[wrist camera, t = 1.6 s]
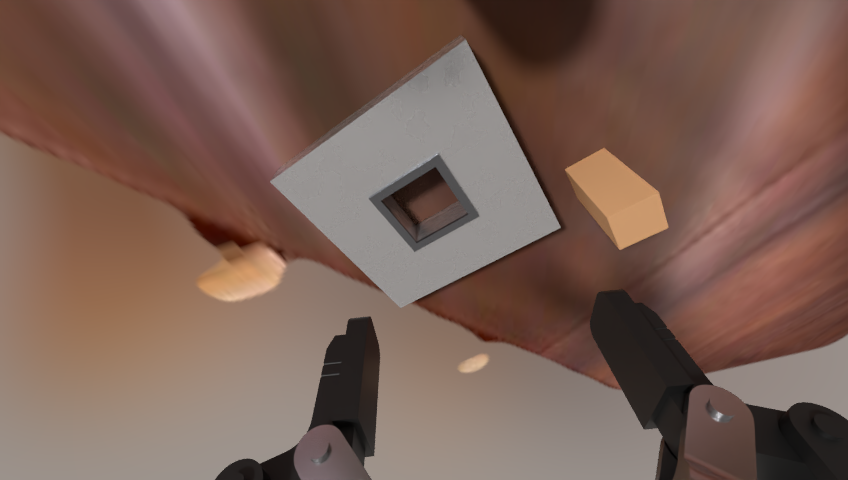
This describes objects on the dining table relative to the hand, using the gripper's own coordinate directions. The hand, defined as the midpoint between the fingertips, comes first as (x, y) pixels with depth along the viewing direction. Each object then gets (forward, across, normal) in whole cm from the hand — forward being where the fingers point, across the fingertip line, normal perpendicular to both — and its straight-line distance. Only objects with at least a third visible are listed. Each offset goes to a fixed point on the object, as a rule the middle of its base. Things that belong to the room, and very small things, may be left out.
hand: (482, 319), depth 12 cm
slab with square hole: (+24, +2, +7) cm, 25 cm away
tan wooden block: (+23, -15, +7) cm, 29 cm away
